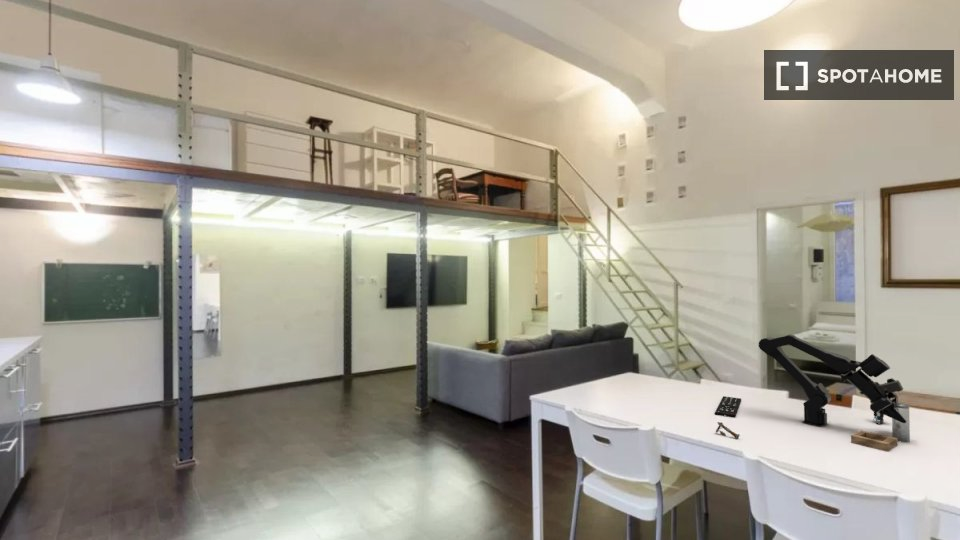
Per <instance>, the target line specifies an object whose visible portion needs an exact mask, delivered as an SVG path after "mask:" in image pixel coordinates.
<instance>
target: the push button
mask: <svg viewBox="0 0 960 540" xmlns="http://www.w3.org/2000/svg"><path fill="white" fill-rule="evenodd" d="M869 402H870V401H869ZM870 404H871V402H870ZM884 416H885V415H884V414H881V413H878V412H876V413H874V412H873V419H875V424H877V423H878V425H882V424H884V422H885V419H884Z"/></svg>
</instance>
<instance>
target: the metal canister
mask: <svg viewBox="0 0 960 540" xmlns="http://www.w3.org/2000/svg"><path fill="white" fill-rule="evenodd" d="M894 404H895V409H896V410H897V411H898V412H899V413H900V414H901V415H902V417H903V418H904V419H905V420H906V423H902V422H900V421H897V420H895V419H893V418H891V427H892V428H891V431H892V432H891V433H892V434H891V435H892V436H891V437H894V438H898V442H900V441H901V443H910V442H911V430H910V428H911V427H910V404H908V403H905V402H898V401H897V402H894Z"/></svg>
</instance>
